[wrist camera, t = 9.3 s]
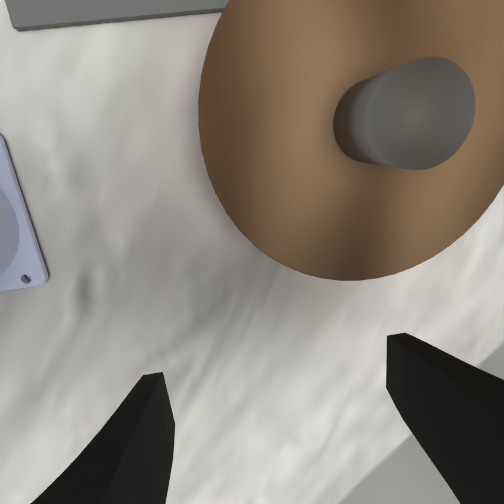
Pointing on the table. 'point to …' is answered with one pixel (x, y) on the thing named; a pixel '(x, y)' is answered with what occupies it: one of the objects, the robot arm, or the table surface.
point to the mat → (100, 11)
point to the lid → (354, 127)
